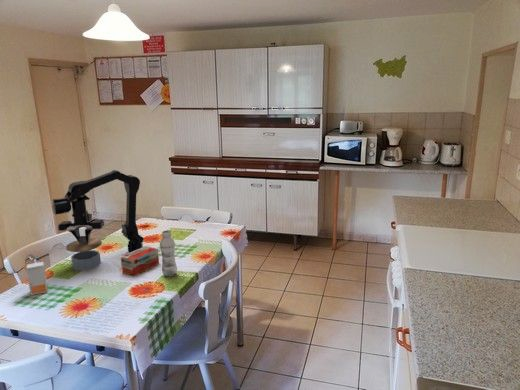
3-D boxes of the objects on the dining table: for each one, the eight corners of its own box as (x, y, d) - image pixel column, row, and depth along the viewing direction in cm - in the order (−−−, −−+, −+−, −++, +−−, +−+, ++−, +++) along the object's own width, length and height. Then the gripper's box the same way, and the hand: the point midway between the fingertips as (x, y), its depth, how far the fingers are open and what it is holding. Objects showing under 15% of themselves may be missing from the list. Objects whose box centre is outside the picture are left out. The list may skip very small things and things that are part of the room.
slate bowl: (103, 259, 187) (102, 249, 186) (95, 269, 175) (94, 259, 174) (78, 260, 186) (77, 250, 185) (68, 271, 174) (67, 260, 173)
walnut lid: (105, 239, 186) (104, 230, 185) (95, 251, 171) (94, 242, 170) (73, 240, 184) (72, 232, 183) (61, 252, 170) (59, 243, 169)
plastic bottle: (180, 272, 171) (177, 230, 166) (172, 278, 165) (168, 235, 160) (167, 270, 173) (164, 228, 168) (159, 277, 167) (155, 233, 162)
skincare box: (30, 295, 152) (25, 268, 150) (31, 291, 156) (26, 264, 153) (47, 292, 155) (43, 265, 152) (48, 287, 159) (43, 261, 156)
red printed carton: (147, 260, 185) (146, 245, 183) (159, 264, 180) (158, 248, 179) (121, 272, 172) (120, 256, 170) (134, 276, 168) (132, 259, 166)
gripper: (105, 204, 182) (109, 235, 186) (65, 206, 181) (69, 237, 184) (98, 211, 171) (102, 243, 175) (55, 213, 170) (60, 246, 174)
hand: (84, 242), depth 177 cm, fingers closed on walnut lid, 3 cm apart
